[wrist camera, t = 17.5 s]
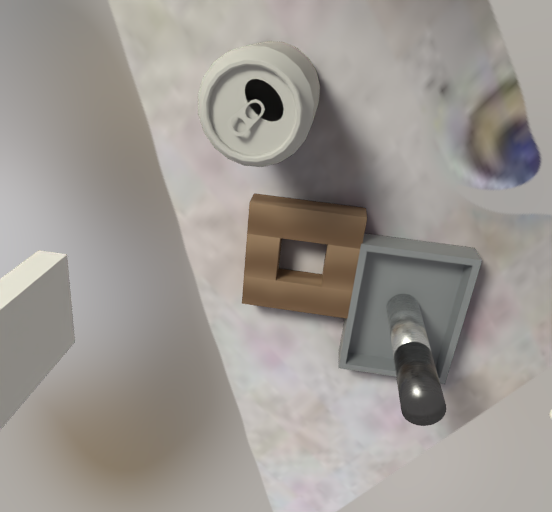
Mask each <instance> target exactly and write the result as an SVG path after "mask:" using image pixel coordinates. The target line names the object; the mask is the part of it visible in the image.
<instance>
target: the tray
mask: <svg viewBox="0 0 552 512" xmlns="http://www.w3.org/2000/svg"><path fill="white" fill-rule="evenodd" d="M481 262H482V259H481V258H480V256H479V254H478V253H477V251H476V249H475V248H471V247H463V246H456V245H448V244H441V243H433V242H426V241H418V240H411V239H403V238H396V237H388V236H381V235H373V234H365V233H364V237H363V243H362V244H361V247H360V253H359V258H358V264H357V269H356V275H355V280H354V286H353V291H352V296H351V302H350V307H349V313H348V318H345V320H344V325H343V331H342V336H341V342H340V347H339V366H338V368H341V369H348V370H355V371H361V372H368V373H374V374H381V375H388V376H394V377H396V370H395V364H394V357H393V350H392V343H391V336H390V330H389V323H388V316H387V309H386V307H387V303H388V301H389V300H390V299H391V298H392V297H393V296H395V295H398V294H409V295H411V296H413V297H414V298H415V299H416V300H417V301H418V304H419V307H420V311H421V315H422V318H423V322H424V326H425V330H426V333H427V337H428V341H429V344H430V348H431V352H432V356H433V359H434V363H435V367H436V371H437V374H438V378H439V382H440V383H441V384H445V382H446V379H447V375H448V372H449V369H450V365H451V362H452V359H453V356H454V352H455V349H456V346H457V342H458V339H459V336H460V332H461V329H462V326H463V322H464V319H465V316H466V312H467V309H468V306H469V302H470V299H471V296H472V292H473V289H474V286H475V282H476V279H477V276H478V272H479V269H480V266H481Z"/></svg>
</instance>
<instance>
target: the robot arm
mask: <svg viewBox="0 0 552 512" xmlns="http://www.w3.org/2000/svg"><path fill="white" fill-rule="evenodd" d="M74 343H75V337H74V326H73V314H72V304H71V293H70V282H69V271H68V260H67V254H61V253H53V252H46V251H37V252H36V253H35V254H33V255H32V256H31V257H29V258H28V259H27V260H25V261H24V262H23V263H21V264H20V265H18V266H17V267H16V268H14V269H13V270H12V271H10V272H9V273H8V274H6V275H5V276H4V277H3V278H1V279H0V430H1V429H2V428H3V427H4V425H5V424H6V423H7V422H8V421H9V419H10V418H11V417H12V416H13V415H14V414H15V412H16V411H17V410H18V409H19V408H20V406H21V405H22V404H23V403H24V402H25V400H26V399H27V398H28V397H29V396H30V394H31V393H32V392H33V391H34V390H35V389H36V388H37V386H38V385H39V384H40V383H41V381H42V380H43V379H44V378H45V377H46V376H47V374H48V373H49V372H50V371H51V370H52V369H53V367H54V366H55V365H56V364H57V363H58V362H59V360H60V359H61V358H62V357H63V355H64V354H65V353H66V352H67V351H68V350H69V348H70V347H71V346H72V345H73V344H74ZM549 415H550V417H551V419H552V409H551V411H550V414H549Z"/></svg>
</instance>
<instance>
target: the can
mask: <svg viewBox="0 0 552 512" xmlns="http://www.w3.org/2000/svg"><path fill="white" fill-rule="evenodd" d="M319 94H320V84H319V80H318V76H317V72H316V70H315V68H314V66H313V65H312V63H311V61H310V59H309V58H308V57H307V56H306V55H305V54H303V53H302V52H301V51H300V50H299V49H298V48H296V47H294V46H291V45H289V44H287V43H284V42H273V41H267V42H262V43H257V44H252V45H247V46H244V47H241V48H237V49H234V50H230V51H228V52H227V53H226V54H224V55H223V56H222V57H220V58H219V59H217V60H216V61H215V62H214V63H213V64H212V66H211V67H210V69H209V70H208V71H207V73H206V74H205V76H204V77H203V80H202V84H201V87H200V90H199V94H198V115H199V118H200V122H201V125H202V128H203V131H204V133H205V135H206V136H207V138H208V139H209V141H210V142H211V143H212V145H213V146H214V148H215V149H217V150H218V151H219V152H220V153H222V154H223V155H224V156H225V157H227V158H228V159H230V160H232V161H235V162H237V163H240V164H242V165H244V166H256V167H264V166H268V165H272V164H277V163H280V162H281V161H283V160H285V159H286V158H288V157H289V156H291V155H293V154H294V153H295V152H296V151H297V149H298V148H299V147H300V146H301V145H302V144H303V142H304V141H305V140H306V138H307V135H308V133H309V130H310V128H311V125H312V123H313V120H314V116H315V113H316V110H317V107H318V103H319Z"/></svg>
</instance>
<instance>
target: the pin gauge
mask: <svg viewBox="0 0 552 512" xmlns="http://www.w3.org/2000/svg"><path fill="white" fill-rule="evenodd" d="M386 309H387V316H388V323H389V330H390V336H391V343H392V350H393V357H394V364H395V370H396V377H397V384H398V391H399V397H400V404H401V411H402V414H403V416H404V417H405V419H406V420H408V421H409V422H411V423H413V424H416V425H421V426H426V425H432V424H434V423H436V422H438V421H440V420H441V419H442V418H443V416H444V415H445V412H446V404H445V400H444V397H443V393H442V389H441V385H440V382H439V378H438V374H437V371H436V367H435V363H434V359H433V356H432V352H431V348H430V344H429V341H428V337H427V333H426V330H425V326H424V322H423V318H422V315H421V311H420V307H419V304H418V301H417V300H416V299H415V298H414V297H413V296H411V295H409V294H398V295H395V296H393V297H392V298H391V299H390V300H389V301H388V303H387V307H386Z"/></svg>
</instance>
